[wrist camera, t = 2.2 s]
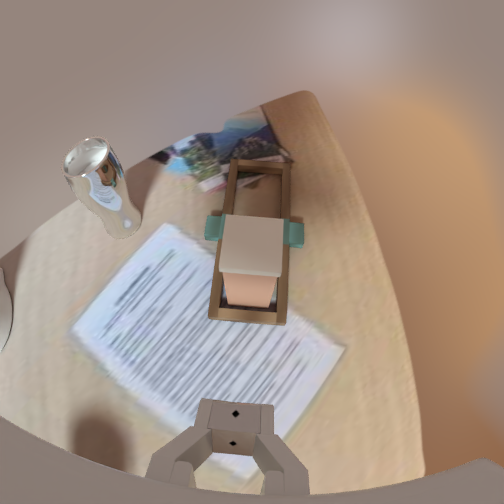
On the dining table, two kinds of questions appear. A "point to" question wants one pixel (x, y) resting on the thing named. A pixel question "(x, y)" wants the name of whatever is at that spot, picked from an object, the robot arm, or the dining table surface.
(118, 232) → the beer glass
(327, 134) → the dining table surface
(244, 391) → the dining table surface
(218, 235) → the open rectangular frame
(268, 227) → the block
